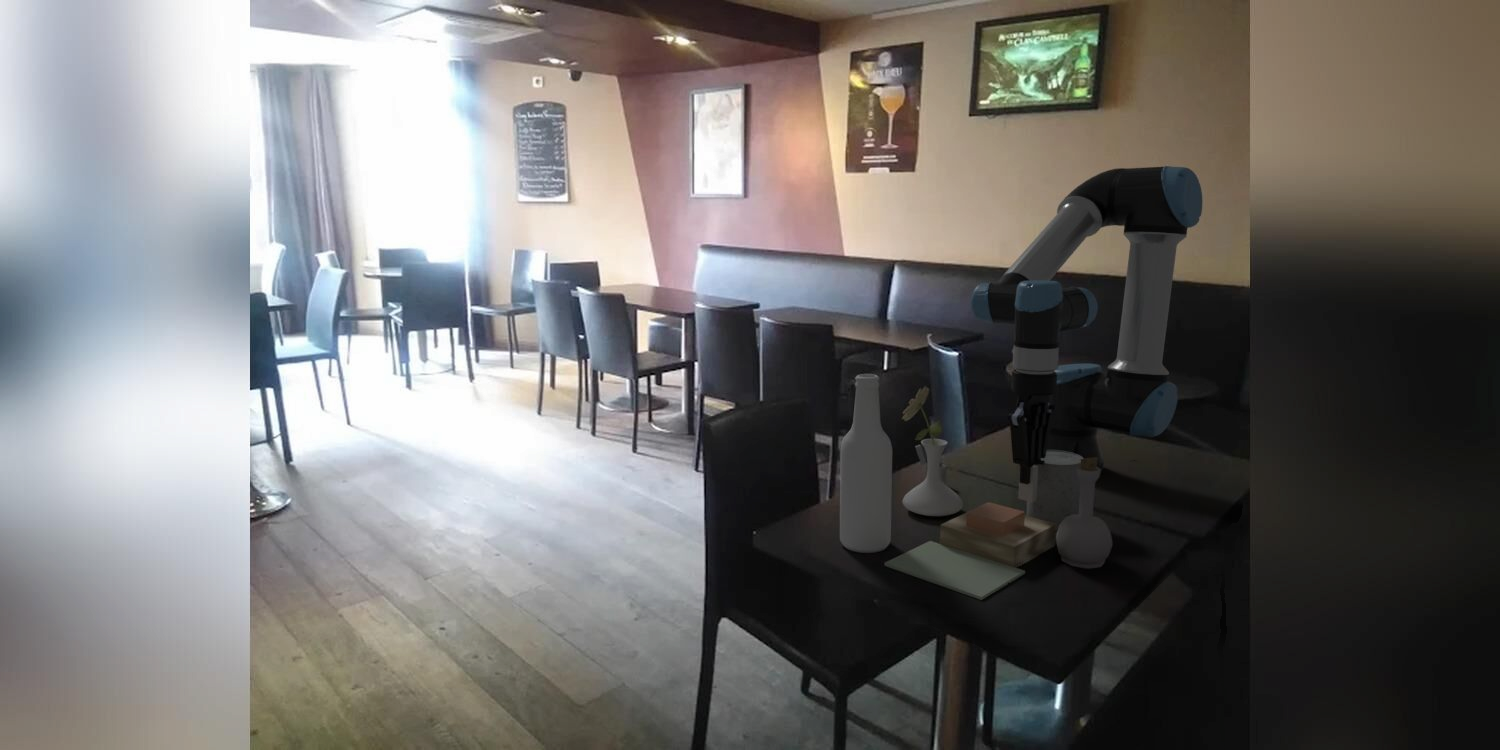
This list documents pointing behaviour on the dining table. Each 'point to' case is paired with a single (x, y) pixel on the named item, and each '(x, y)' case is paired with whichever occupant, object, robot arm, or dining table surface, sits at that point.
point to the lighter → (923, 460)
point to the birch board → (1000, 540)
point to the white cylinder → (1056, 487)
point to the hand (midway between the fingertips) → (1027, 499)
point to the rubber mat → (955, 569)
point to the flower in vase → (930, 470)
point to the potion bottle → (1084, 525)
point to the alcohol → (866, 474)
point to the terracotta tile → (995, 519)
